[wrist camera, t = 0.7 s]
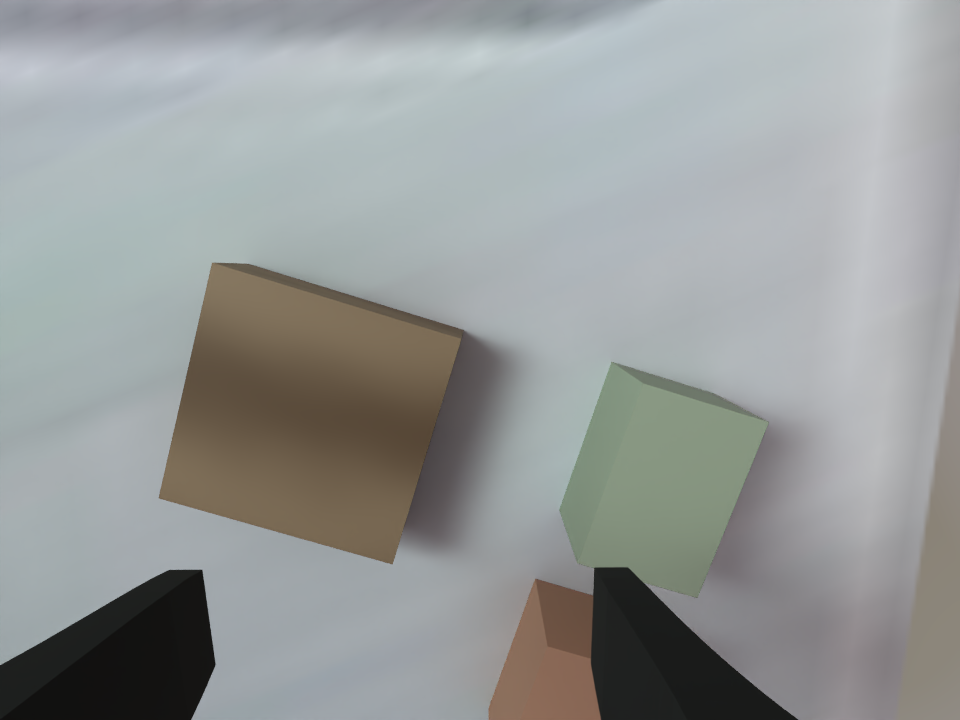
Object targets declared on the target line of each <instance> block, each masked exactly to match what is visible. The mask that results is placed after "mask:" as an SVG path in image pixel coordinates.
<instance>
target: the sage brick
mask: <svg viewBox="0 0 960 720" xmlns="http://www.w3.org/2000/svg"><path fill="white" fill-rule="evenodd" d="M768 423H769V422H768V421H766V420H764V419H762V418H760V417H758V416H756V415H754V414H752V413H750V412H748V411H746V410H744V409H743V408H741V407H739V406H737V405H735V404H733V403H731V402H729V401H727V400H725V399H723V398H721V397H719V396H717V395H716V394H714V393H710V392H707V391H704V390H701V389H697V388H694V387H691V386H688V385H684V384H681V383H678V382H675V381H672V380H668V379H665V378H662V377H659V376H655V375H652V374H649V373H646V372H643V371H639V370H636V369H633V368H630V367H626V366H623V365H620V364H617V363H614V362H611V365H610V368H609V371H608V373H607V376H606V379H605V382H604V385H603V388H602V390H601V393H600V396H599V399H598V402H597V405H596V407H595V410H594V413H593V416H592V419H591V422H590V424H589V427H588V430H587V433H586V436H585V438H584V441H583V444H582V447H581V450H580V453H579V455H578V458H577V461H576V464H575V467H574V470H573V472H572V475H571V478H570V481H569V484H568V487H567V489H566V492H565V495H564V498H563V501H562V504H561V506H560V509H559V510H560V513H561V516H562V519H563V522H564V525H565V528H566V531H567V534H568V537H569V540H570V543H571V546H572V549H573V552H574V555H575V557H576V560H577V563H578V564H581V565H585V566H588V567H592V568H594V567H628V568H629V569H630V570H631V571H632V572H633V573H634V574H635V575H636V576H637V577H638V578H639V579H640V580H641V581H642V582H644V583H647V584H651V585H654V586H657V587H661V588H664V589H668V590H671V591H675V592H678V593H682V594H685V595H689V596H692V597H696V598H697V597H698V595H699V593H700V590H701V588H702V585H703V583H704V580H705V578H706V575H707V573H708V570H709V568H710V566H711V563H712V561H713V558H714V556H715V553H716V551H717V548H718V546H719V544H720V541H721V539H722V536H723V534H724V531H725V529H726V526H727V524H728V521H729V519H730V517H731V514H732V512H733V509H734V507H735V504H736V502H737V499H738V497H739V495H740V492H741V490H742V487H743V485H744V482H745V480H746V477H747V475H748V472H749V470H750V468H751V465H752V463H753V460H754V458H755V455H756V453H757V450H758V448H759V445H760V443H761V441H762V438H763V436H764V433H765V431H766V428H767V426H768Z"/></svg>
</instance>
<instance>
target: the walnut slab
mask: <svg viewBox="0 0 960 720" xmlns="http://www.w3.org/2000/svg"><path fill="white" fill-rule="evenodd" d="M463 331H464V330H462V329H458V328H455V327H452V326H449V325H445V324H442V323H439V322H436V321H432V320H429V319H426V318H423V317H419V316H416V315H413V314H410V313H406V312H403V311H400V310H397V309H393V308H390V307H387V306H384V305H380V304H377V303H374V302H370V301H367V300H364V299H361V298H357V297H354V296H351V295H348V294H344V293H341V292H338V291H335V290H331V289H328V288H325V287H322V286H318V285H315V284H312V283H309V282H305V281H302V280H299V279H296V278H292V277H289V276H286V275H283V274H279V273H276V272H273V271H270V270H266V269H263V268H260V267H257V266H253V265H250V264H237V263H212V266H211V270H210V274H209V279H208V283H207V288H206V292H205V296H204V301H203V305H202V310H201V314H200V318H199V323H198V327H197V332H196V336H195V340H194V345H193V349H192V354H191V358H190V362H189V367H188V371H187V376H186V380H185V384H184V389H183V393H182V398H181V402H180V407H179V411H178V415H177V420H176V424H175V429H174V433H173V437H172V442H171V446H170V451H169V455H168V459H167V464H166V468H165V473H164V477H163V481H162V486H161V490H160V495H159V498H160V499H163V500H167V501H170V502H174V503H177V504H181V505H184V506H188V507H192V508H195V509H199V510H202V511H206V512H209V513H213V514H216V515H220V516H223V517H227V518H230V519H234V520H237V521H241V522H245V523H248V524H252V525H255V526H259V527H262V528H266V529H269V530H273V531H276V532H280V533H283V534H287V535H291V536H294V537H298V538H301V539H305V540H308V541H312V542H315V543H319V544H322V545H326V546H329V547H333V548H336V549H340V550H344V551H347V552H351V553H354V554H358V555H361V556H365V557H368V558H372V559H375V560H379V561H382V562H386V563H390V564H393V561H394V558H395V555H396V551H397V548H398V545H399V541H400V538H401V535H402V532H403V528H404V525H405V522H406V519H407V515H408V512H409V509H410V505H411V502H412V499H413V496H414V492H415V489H416V486H417V483H418V479H419V476H420V473H421V470H422V466H423V463H424V460H425V456H426V453H427V450H428V447H429V443H430V440H431V437H432V434H433V430H434V427H435V424H436V420H437V417H438V414H439V411H440V407H441V404H442V401H443V398H444V394H445V391H446V388H447V384H448V381H449V378H450V375H451V371H452V368H453V365H454V362H455V358H456V355H457V352H458V349H459V345H460V342H461V339H462V335H463Z"/></svg>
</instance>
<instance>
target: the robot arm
mask: <svg viewBox="0 0 960 720" xmlns="http://www.w3.org/2000/svg"><path fill="white" fill-rule="evenodd" d="M214 667H215V658H214V650H213V643H212V636H211V629H210V622H209V615H208V608H207V600H206V593H205V586H204V579H203V572H202V570H168V571H166V572H164V573H162V574H160V575H158V576H156V577H154V578H152V579H150V580H148V581H147V582H145V583H143V584H141V585H139V586H138V587H136V588H134V589H132V590H131V591H129V592H127V593H125V594H124V595H122V596H120V597H119V598H117V599H115V600H113V601H112V602H110V603H108V604H107V605H105V606H103V607H101V608H100V609H98V610H96V611H95V612H93V613H91V614H90V615H88V616H86V617H84V618H83V619H81V620H79V621H78V622H76V623H74V624H72V625H71V626H69V627H67V628H66V629H64V630H62V631H60V632H59V633H57V634H55V635H54V636H52V637H50V638H48V639H47V640H45V641H43V642H42V643H40V644H38V645H36V646H34V647H33V648H31V649H29V650H27V651H25V652H24V653H22V654H20V655H18V656H16V657H14V658H13V659H11V660H9V661H7V662H5V663H4V664H2V665H0V720H191V719H192V717H193V715H194V712H195V710H196V708H197V706H198V704H199V702H200V700H201V698H202V695H203V693H204V691H205V688H206V686H207V684H208V681H209V679H210V677H211V674H212V672H213V670H214ZM591 668H592V674H593V679H594V685H595V691H596V696H597V701H598V707H599V712H600V717H601V720H798V719H797V718H795V717H794V716H793V715H791V714H790V713H789V712H787V711H786V710H785V709H783V708H782V707H780V706H779V705H778V704H777V703H775V702H774V701H773V700H772V699H770V698H769V697H768V696H766V695H765V694H764V693H763V692H761V691H760V690H759V689H758V688H757V687H755V686H754V685H753V684H752V683H751V682H749V681H748V680H747V679H746V678H745V677H744V676H742V675H741V674H740V673H739V672H738V671H736V670H735V669H734V668H733V667H732V666H730V665H729V664H728V663H727V662H726V661H725V660H723V659H722V658H721V657H720V656H719V655H718V654H717V653H716V652H715V651H713V650H712V649H711V648H710V647H709V646H708V645H707V644H706V643H705V642H703V641H702V640H701V639H700V638H699V637H698V636H697V635H696V634H695V633H694V632H693V631H692V630H691V629H690V628H689V627H687V626H686V625H685V624H684V623H683V622H682V621H681V620H680V619H679V618H678V617H677V616H676V615H675V614H674V613H673V612H672V611H671V610H670V609H669V608H668V607H667V606H666V605H665V604H664V603H663V602H662V601H661V600H660V599H659V598H658V597H657V596H656V595H655V594H654V593H653V592H652V591H651V590H650V589H649V588H648V587H647V586H646V585H645V584H644V583H643V582H642V581H641V580H640V579H639V578H638V577H637V576H636V575H635V574H634V573H633V572H632V571H631V570H630V569H629V568H628V567H594V592H593V617H592V642H591Z"/></svg>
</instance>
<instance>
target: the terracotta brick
mask: <svg viewBox="0 0 960 720" xmlns="http://www.w3.org/2000/svg"><path fill="white" fill-rule="evenodd" d="M592 617H593V596H592V595H589V594H585V593H582V592H579V591H575V590H572V589H568V588H565V587H562V586H558V585H555V584H551V583H548V582H545V581H541V580H538V579H535V581H534V584H533V587H532V589H531V592H530V595H529V598H528V600H527V603H526V606H525V609H524V612H523V614H522V617H521V620H520V623H519V625H518V628H517V631H516V634H515V637H514V639H513V642H512V645H511V648H510V650H509V653H508V656H507V659H506V662H505V664H504V667H503V670H502V673H501V675H500V678H499V681H498V684H497V687H496V689H495V692H494V695H493V698H492V700H491V703H490V706H489V720H601V717H600V712H599V707H598V701H597V696H596V691H595V685H594V679H593V674H592V668H591V642H592Z"/></svg>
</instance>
